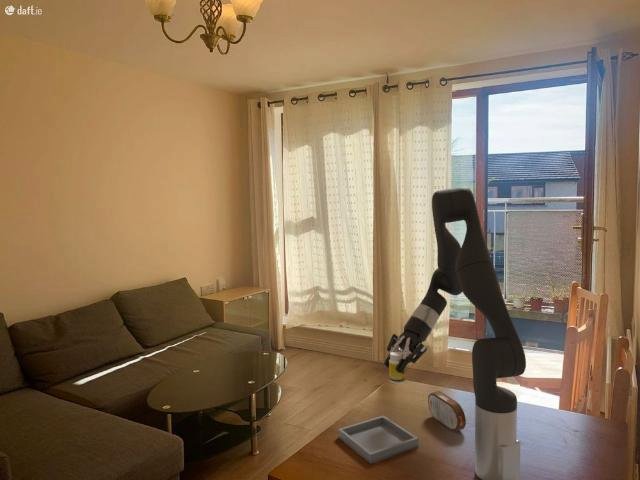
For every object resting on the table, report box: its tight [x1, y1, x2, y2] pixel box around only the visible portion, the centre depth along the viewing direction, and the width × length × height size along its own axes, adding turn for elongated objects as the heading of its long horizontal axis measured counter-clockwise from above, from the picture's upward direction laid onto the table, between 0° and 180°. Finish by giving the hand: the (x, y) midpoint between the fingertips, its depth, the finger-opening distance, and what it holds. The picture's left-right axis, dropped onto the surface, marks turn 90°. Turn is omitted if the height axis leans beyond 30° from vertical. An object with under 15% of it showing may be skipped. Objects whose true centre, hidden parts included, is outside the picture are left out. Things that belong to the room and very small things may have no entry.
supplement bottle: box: [388, 351, 406, 384], centre depth 142 cm, size 5×5×8 cm
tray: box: [337, 415, 420, 465], centre depth 129 cm, size 16×16×2 cm
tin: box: [427, 390, 467, 432], centre depth 138 cm, size 15×3×8 cm, turn 22°
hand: (392, 368), depth 141 cm, fingers closed on supplement bottle, 4 cm apart
